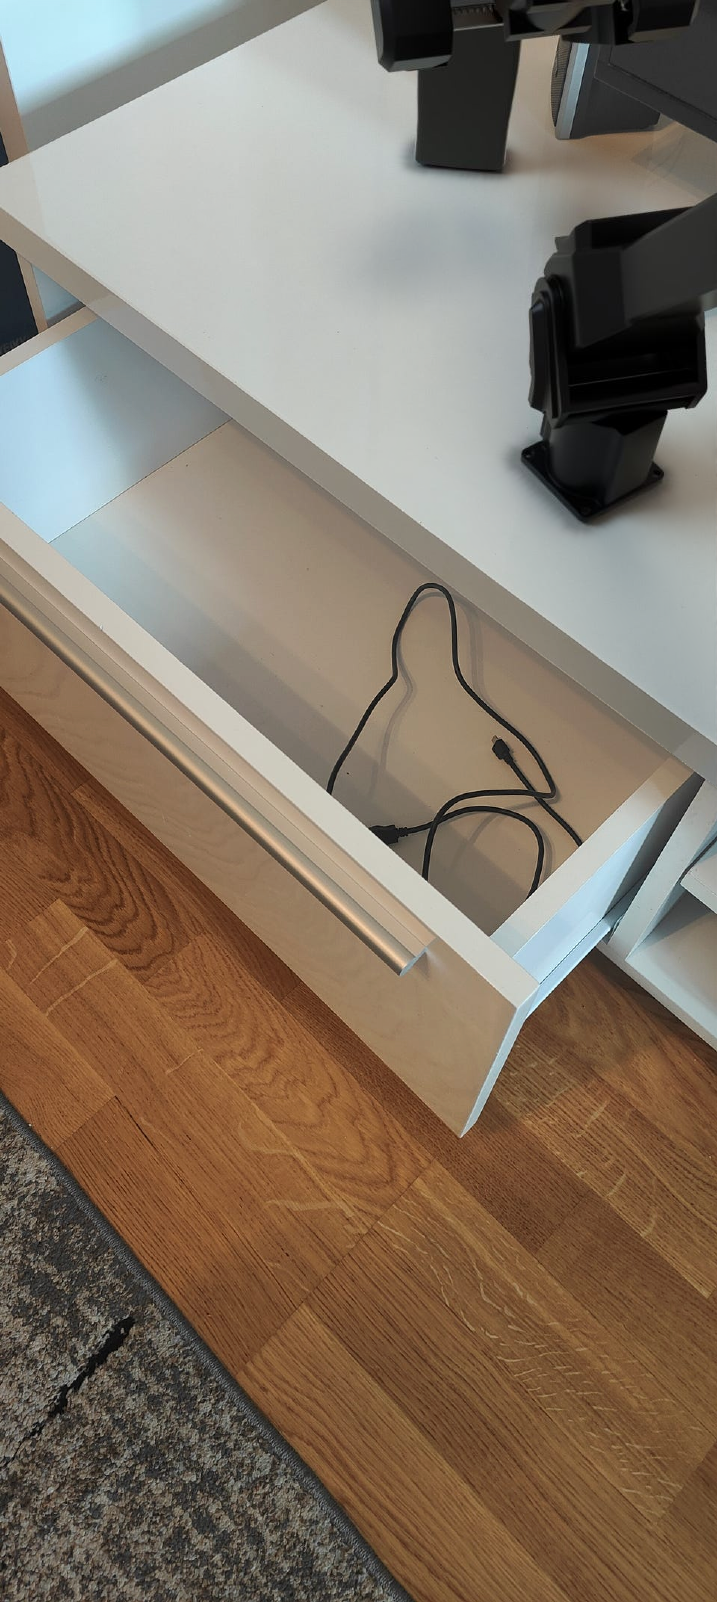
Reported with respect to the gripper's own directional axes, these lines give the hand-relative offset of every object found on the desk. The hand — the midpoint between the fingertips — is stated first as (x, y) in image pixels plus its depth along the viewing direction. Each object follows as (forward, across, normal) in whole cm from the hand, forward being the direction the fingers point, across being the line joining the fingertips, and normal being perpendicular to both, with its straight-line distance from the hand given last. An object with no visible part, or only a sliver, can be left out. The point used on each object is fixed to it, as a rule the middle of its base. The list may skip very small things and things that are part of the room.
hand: (494, 39), depth 72 cm
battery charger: (+12, 0, +4) cm, 12 cm away
